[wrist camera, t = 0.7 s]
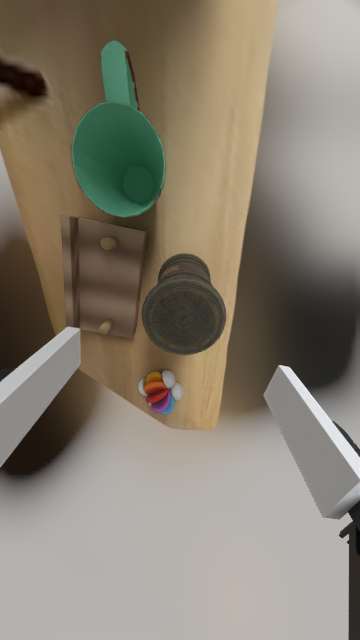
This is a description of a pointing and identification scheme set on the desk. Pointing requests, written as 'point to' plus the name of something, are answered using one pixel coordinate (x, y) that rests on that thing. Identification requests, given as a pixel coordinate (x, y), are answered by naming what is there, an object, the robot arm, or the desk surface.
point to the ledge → (102, 275)
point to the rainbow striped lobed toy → (161, 391)
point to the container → (184, 307)
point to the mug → (118, 144)
